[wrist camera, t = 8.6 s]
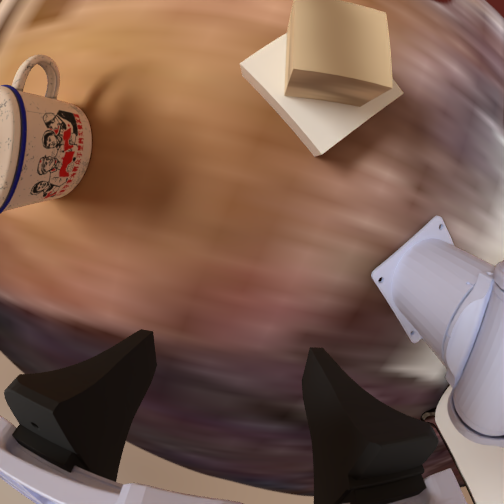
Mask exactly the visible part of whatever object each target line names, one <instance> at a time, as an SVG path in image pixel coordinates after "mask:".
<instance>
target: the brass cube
mask: <svg viewBox="0 0 504 504" xmlns="http://www.w3.org/2000/svg"><path fill="white" fill-rule="evenodd" d="M392 88H393V84H392V65H391V51H390V41H389V32H388V24H387V17H386V13H385V12H382V11H379V10H375V9H372V8H368V7H365V6H361V5H357V4H353V3H349V2H344V1H340V0H293V5H292V9H291V14H290V19H289V24H288V29H287V41H286V66H285V88H284V96H291V97H300V98H309V99H316V100H323V101H330V102H336V103H342V104H347V105H353V106H358V107H361V106H362V105H364V104H366V103H368V102H369V101H371V100H373V99H374V98H376V97H378V96H380V95H381V94H383V93H385V92H387V91H388V90H390V89H392Z"/></svg>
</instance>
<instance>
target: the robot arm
mask: <svg viewBox="0 0 504 504" xmlns="http://www.w3.org/2000/svg"><path fill="white" fill-rule="evenodd" d="M440 224H441V228H440V229H439V225H440ZM371 277H372V279H373V280H374V282H375V283H376V285H377V286H378V288H379V290H380V291H381V293H382V294H383V296H384V297H385V299H386V301H387V302H388V304H389V305H390V307H391V309H392V310H393V312H394V313H395V315H396V317H397V318H398V320H399V322H400V323H401V325H402V327H403V328H404V330H405V332H406V333H407V335H408V337H409V339H410V340H411V342H412V343H416V342H418V341H419V340H420V339H423V340H424V341H425V342H426V343H427V345H428V346H429V347H430V348H431V349H432V351H433V352H434V353H435V354H436V356H437V357H438V358H439V359H440V361H441V362H442V363H443V364H444V366H445V367H446V368H447V372H446V375H445V379H446V380H447V381H448V383H449V384H450V386H451V387H452V388H453V389H452V391H451V393H450V395H449V398H448V403H447V410H448V415H449V417H450V420H451V422H452V424H453V425H454V427H455V428H456V429H457V430H458V432H459V433H461V434H462V435H463V436H464V437H466V438H467V439H469V440H470V441H473V442H475V443H478V444H482V445H491V446H499V447H502V448H504V260H503V261H502V262H499V263H498V264H497V265H496V266H493V265H491V264H490V263H488V262H486V261H484V260H482V259H480V258H478V257H476V256H474V255H472V254H470V253H468V252H466V251H464V250H462V249H460V248H458V247H455V246H454V243H453V241H452V239H451V237H450V234H449V232H448V230H447V228H446V225H445V223H444V221H443V219H442V218H441V217H440V216H435V217H434V218H433V219H432V220H431V221H429V222H428V223H427V224H426V225H425V226H424V227H423V228H422V229H421V230H420V231H419V232H418V233H416V234H415V235H414V236H413V237H412V238H411V239H410V240H409V241H407V242H406V243H405V244H404V245H403V246H402V247H401V248H399V249H398V250H397V251H396V252H395V253H394V254H392V255H391V256H390V257H389V258H388V259H387V260H385V261H384V262H383V263H382V264H381V265H379V266H378V267H377V268H376V269H375V270H373V272H372V274H371ZM381 277H382V280H381V281H380V282H378V280H379V278H381ZM412 331H413V332H412ZM411 332H412V333H411ZM156 366H157V363H156V354H155V346H154V336H153V331H147V330H142V329H141V330H139V331H137V332H136V333H134V334H132V335H131V336H129V337H128V338H126V339H125V340H123V341H121V342H120V343H118V344H116V345H115V346H113V347H111V348H110V349H108V350H106V351H104V352H102V353H100V354H98V355H97V356H95V357H93V358H90V359H88V360H86V361H83V362H81V363H78V364H75V365H72V366H69V367H66V368H62V369H59V370H54V371H49V372H43V373H36V374H23V375H22V374H20V375H19V376H18V377H17V378H16V379H15V380H14V381H13V382H12V383H11V384H10V385H9V386H8V387H7V389H6V390H5V392H4V395H5V399H6V401H7V404H8V405H9V407H10V409H11V410H12V412H13V414H14V416H15V417H16V419H17V420H18V422H19V424H20V425H19V426H18V427H17V428H16V427H15V426H14V425H13V424H12V423H10V422H9V421H7V420H6V419H5V418H3V417H2V416H0V478H2V479H3V480H4V481H5V482H7V483H8V484H9V485H10V486H12V487H13V488H14V489H16V490H17V491H19V492H20V493H21V494H23V495H24V496H26V497H27V498H28V499H30V500H31V501H33V502H34V503H36V504H243V503H240V502H236V501H229V500H224V499H216V498H208V497H201V496H195V495H189V494H183V493H178V492H174V491H169V490H164V489H160V488H156V487H152V486H149V485H143V484H137V483H130V484H124V485H123V484H120V483H117V482H116V479H117V473H118V468H119V464H120V460H121V455H122V452H123V448H124V445H125V441H126V438H127V435H128V432H129V429H130V426H131V423H132V420H133V418H134V416H135V414H136V412H137V410H138V408H139V406H140V404H141V402H142V400H143V398H144V396H145V394H146V392H147V390H148V388H149V386H150V384H151V381H152V378H153V376H154V373H155V369H156ZM302 390H303V400H304V405H305V410H306V415H307V419H308V424H309V429H310V434H311V439H312V448H313V464H314V504H467V503H466V501H465V498H464V496H463V494H462V492H461V489H460V487H459V485H458V483H457V480H456V478H455V476H454V474H453V472H452V470H451V469H446V470H444V471H441V472H439V473H436V474H433V475H431V476H428V477H427V478H425V479H424V480H423V477H422V475H421V474H423V473H424V468H423V466H422V464H423V463H424V462H425V461H426V460H427V459H428V457H429V456H430V455H431V454H432V453H433V451H434V450H435V449H436V447H437V444H438V437H437V436H436V434H435V432H434V430H433V428H432V426H431V425H430V423H427V422H424V421H421V420H418V419H415V418H412V417H410V416H407V415H405V414H403V413H401V412H398V411H396V410H394V409H393V408H391V407H389V406H387V405H386V404H384V403H382V402H380V401H379V400H377V399H376V398H374V397H373V396H372V395H370V394H369V393H368V392H366V391H365V390H364V389H362V388H361V387H360V386H359V385H358V384H357V383H356V382H354V381H353V380H352V379H351V378H350V377H349V376H348V375H347V374H346V373H345V372H344V371H343V370H342V369H341V368H340V367H339V366H338V364H337V363H336V362H335V361H334V360H333V359H332V358H331V357H330V355H329V354H328V353H327V352H326V351H325V350H324V349H323V348H310V350H309V354H308V358H307V362H306V366H305V370H304V374H303V378H302Z"/></svg>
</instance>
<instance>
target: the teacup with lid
mask: <svg viewBox="0 0 504 504" xmlns="http://www.w3.org/2000/svg"><path fill="white" fill-rule="evenodd" d="M36 64H38V65H40V66H41V67H42V68H43V69H44V70H45V72H46V75H47V79H48V85H47V91H46V95H45V97H43V96H39V95H35V94H30V93H26V92H23V88H24V85H25V82H26V79H27V76H28V74H29V72H30V70H31V69H32V68H33V66H35V65H36ZM59 86H60V74H59V70H58V67H57V65H56V63H55V62H54V61H53V60H52V59H51V58H50V57H48V56H46V55H35V56H32V57H30V58H28V59H27V60H26V61H25V62H24V63H23V64H22V65H21V66H20V67H19V69H18V71H17V73H16V75H15V78H14V81H13V84H12V86H10V85H1V86H0V213H2V212H3V211H6V210H10V209H14V208H18V207H22V206H26V205H30V204H34V203H38V202H43V201H47V200H52V199H57V198H60V197H63V196H65V195H67V194H68V193H70V192H71V191H72V190H73V189H74V188H75V187H76V186H77V184H78V183H79V182H80V180H81V179H82V177H83V175H84V173H85V171H86V169H87V166H88V163H89V159H90V155H91V148H92V134H91V128H90V124H89V121H88V119H87V117H86V115H85V114H84V112H83V111H82V110H81V109H80V108H79V107H77V106H75V105H73V104H71V103H67V102H63V101H59V100H57V95H58V91H59Z"/></svg>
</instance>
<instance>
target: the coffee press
mask: <svg viewBox="0 0 504 504" xmlns="http://www.w3.org/2000/svg"><path fill="white" fill-rule="evenodd" d="M452 389H453V388H452V387H451V386H449V387H448V388H447V389H446V391H445V392H444V394H443V395H442V397H441V399H440V401H439V403H438V405H437V408H436V411H432V412H425V413H423V414H422V416H421V421H424V420H425V418H426V417H427V416H435V421H436V424H437V426H438V428H439V430H440V431H441V433H442V434H441V433H440V431H439V430H438V428H437V427H436V426H435V425H434V424H432V423H430V422H427V423H430V425H431V426H432V427H435V428H436V429H437V431H438V433H439V435H440V436H441V438H442V440H443V442H444V444H445V446H446V447H447V449H448V451H449V453H450V455H451V457H452V459H453V461H454V463H455V465H456V467H457V469H458V471H459V473H460V475H461V477H462V479H463V481H464V483H465V486H466V488H467V490H468V492H469V494H470V496H471V498H472V501H473V503H474V504H504V448H502V447H499V446H491V445H482V444H478V443H475V442H473V441H470V440H469V439H467V438H466V437H464V436H463V435H462V434H461V433H459V432H458V430H457V429H456V428H455V427H454V425H453V424H452V422H451V420H450V417H449V415H448V410H447V403H448V398H449V395H450V393H451V391H452ZM424 422H425V421H424ZM442 435H443V436H442ZM443 437H444V438H443ZM444 439H445V440H444ZM445 441H446V442H445ZM447 444H448V445H447ZM448 446H449V447H448ZM449 448H450V449H449ZM450 450H451V451H450ZM451 452H452V453H451ZM452 454H453V455H452ZM453 456H454V457H453ZM454 458H455V459H454ZM455 460H456V461H455ZM463 476H464V477H463ZM464 478H465V479H464ZM465 480H466V481H465ZM466 482H467V483H466ZM467 484H468V485H467ZM468 486H469V487H468ZM469 488H470V489H469ZM472 495H473V496H472ZM473 497H474V498H473ZM474 499H475V500H474Z"/></svg>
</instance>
